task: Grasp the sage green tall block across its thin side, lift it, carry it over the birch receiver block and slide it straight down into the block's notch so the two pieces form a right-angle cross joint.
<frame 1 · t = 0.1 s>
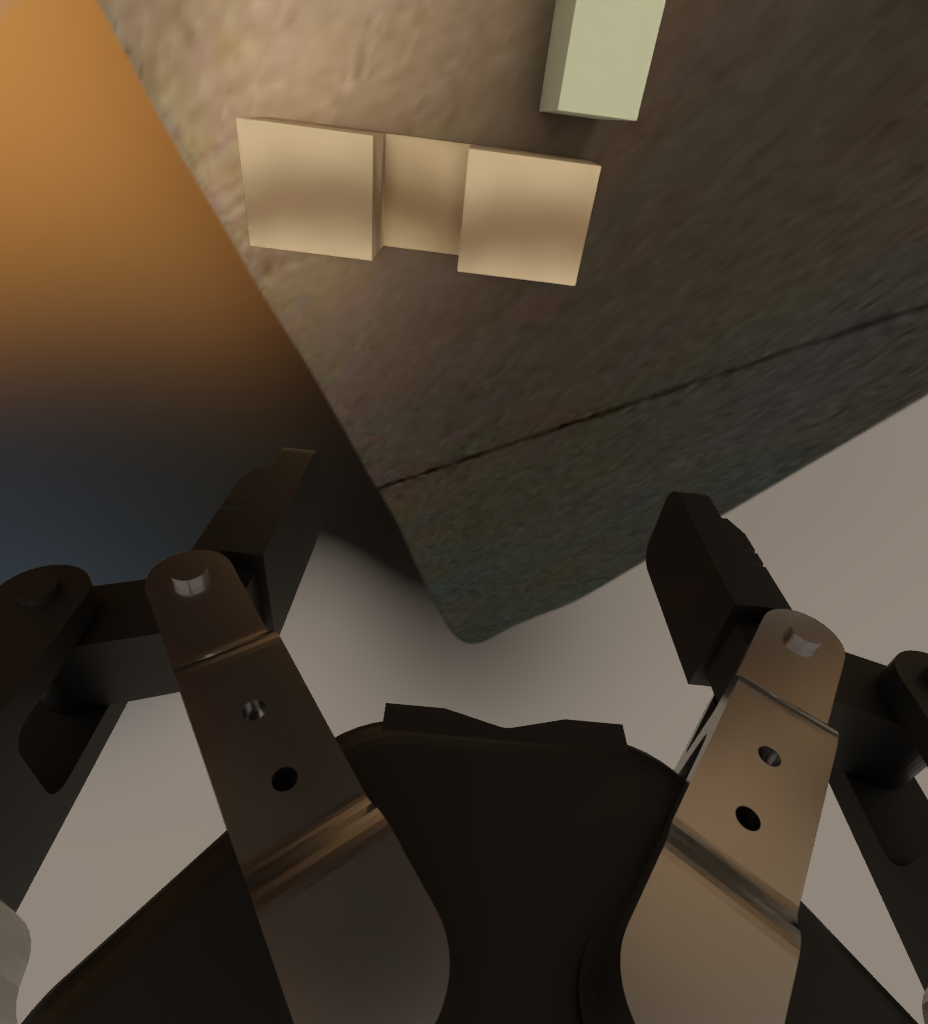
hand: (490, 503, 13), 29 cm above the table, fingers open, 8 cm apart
receiver: (426, 195, 34), on the table
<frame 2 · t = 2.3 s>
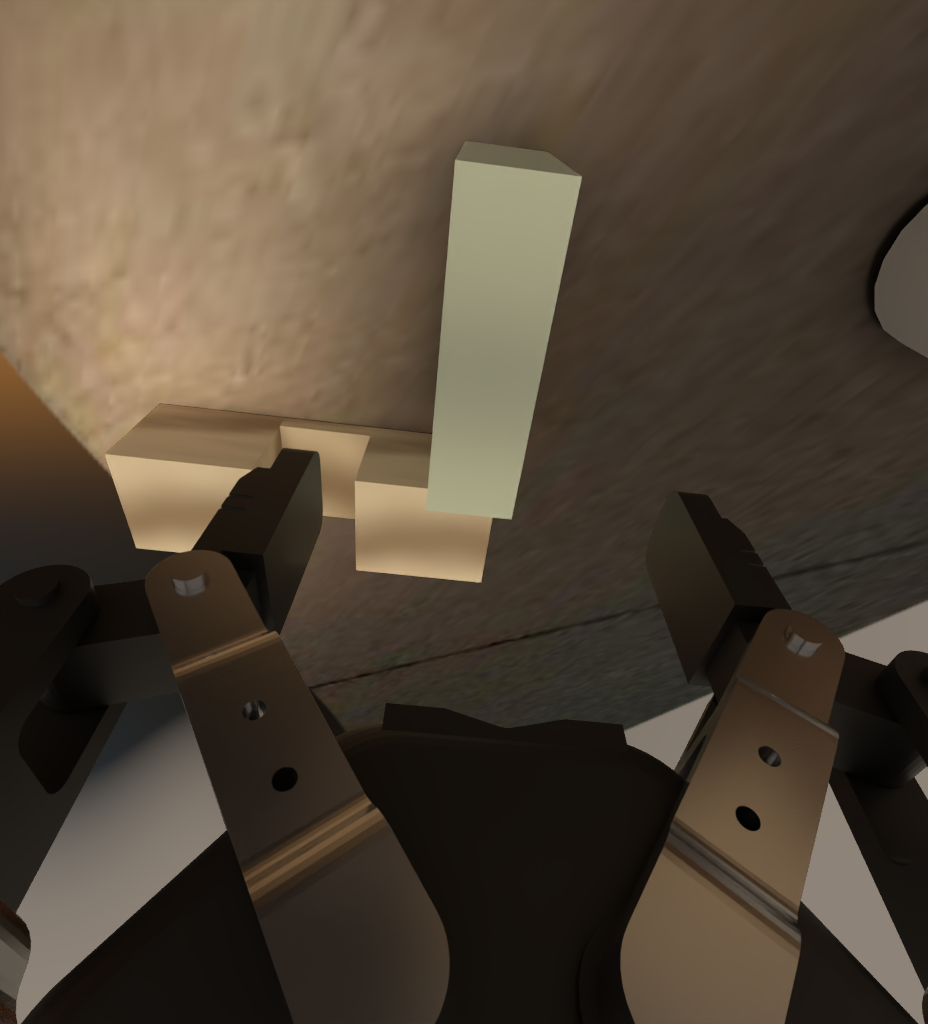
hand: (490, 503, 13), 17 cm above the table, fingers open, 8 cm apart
receiver: (331, 466, 33), on the table
sage green tall block: (487, 293, 26), on the table
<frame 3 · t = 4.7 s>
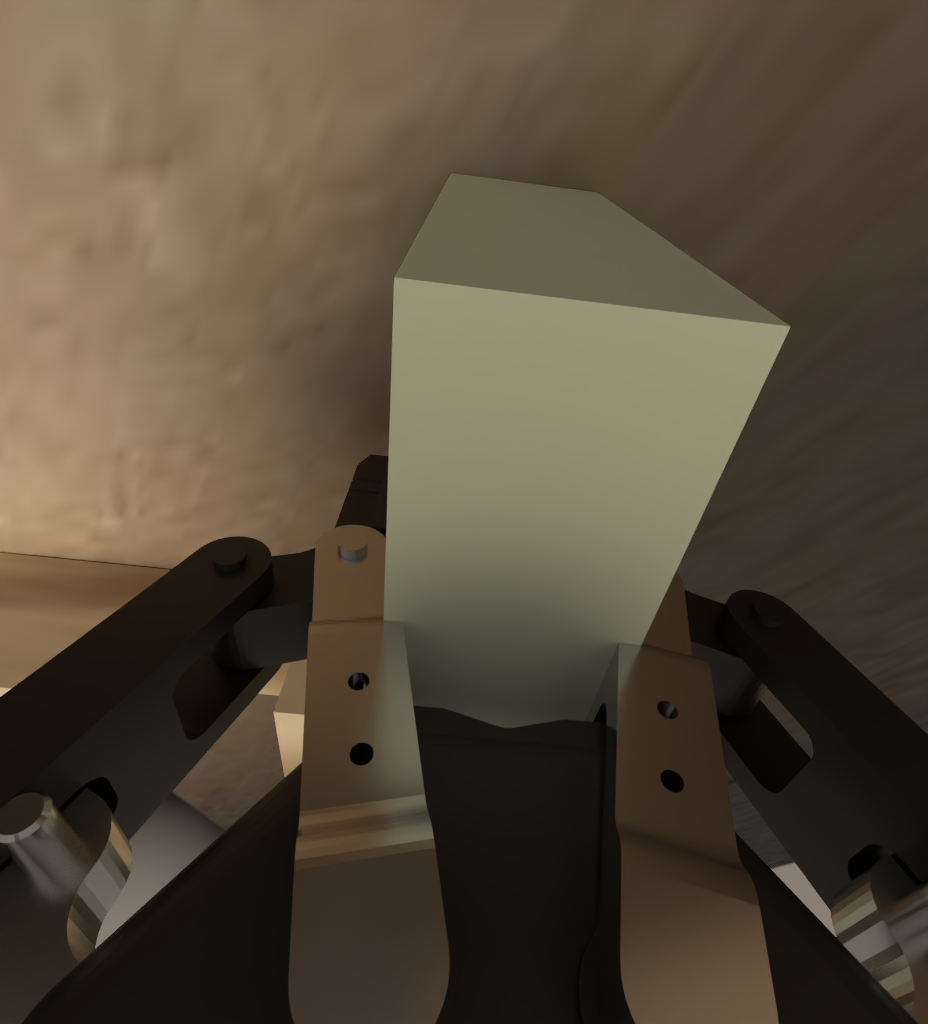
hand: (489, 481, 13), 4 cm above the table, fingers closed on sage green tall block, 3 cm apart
receiver: (261, 630, 22), on the table
sage green tall block: (489, 413, 16), on the table, touching gripper
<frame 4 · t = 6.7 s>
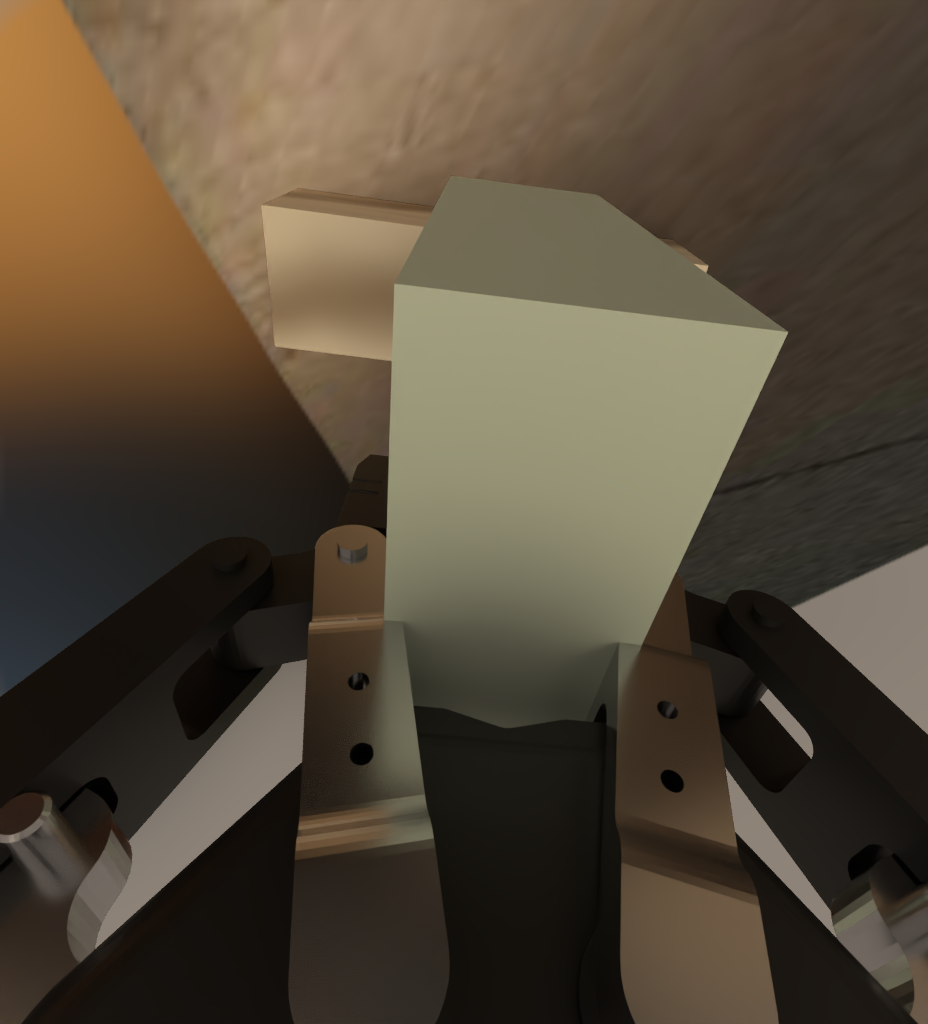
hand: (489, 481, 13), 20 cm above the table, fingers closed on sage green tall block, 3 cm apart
receiver: (480, 277, 29), on the table
sage green tall block: (489, 414, 16), point 16 cm above the table, touching gripper
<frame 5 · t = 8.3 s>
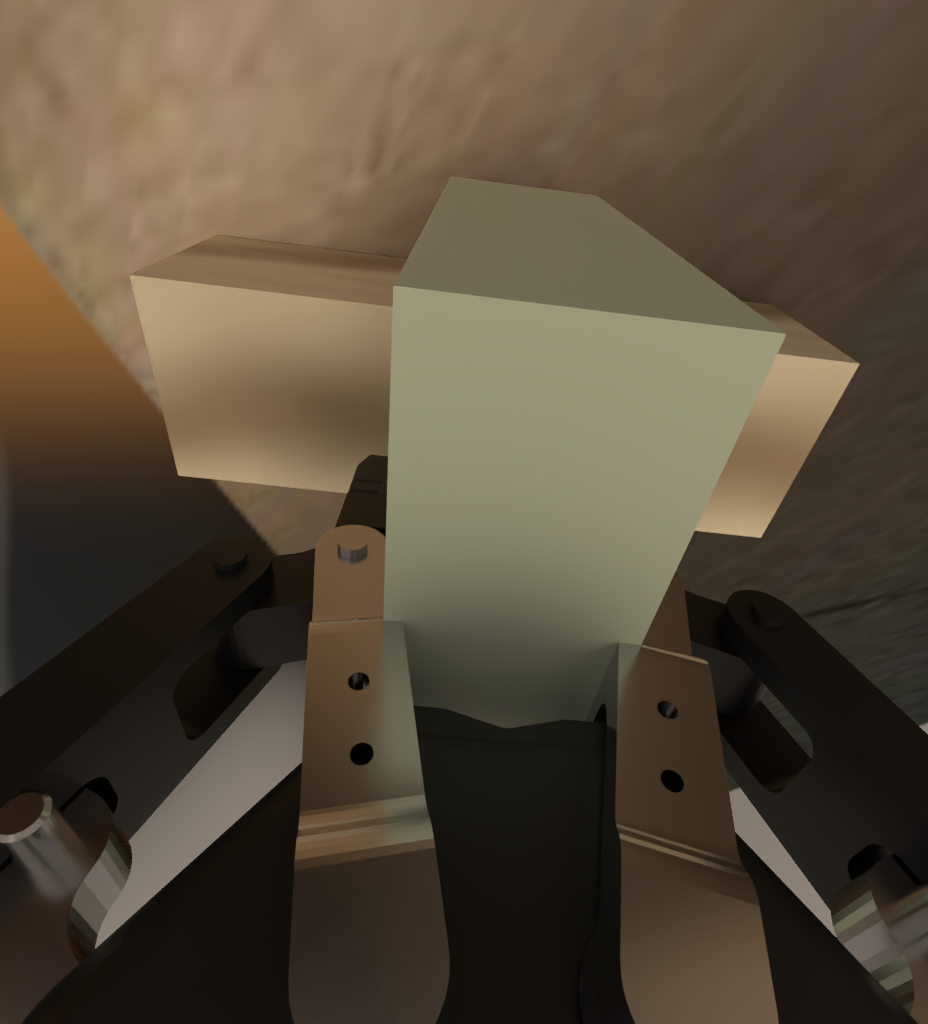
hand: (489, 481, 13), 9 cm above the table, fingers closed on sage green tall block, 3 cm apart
receiver: (487, 355, 20), on the table
sage green tall block: (489, 415, 16), point 5 cm above the table, touching gripper
when the fingers open (7 cm above the table, at t = 9.2 s): sage green tall block drops 2 cm, resting on receiver.
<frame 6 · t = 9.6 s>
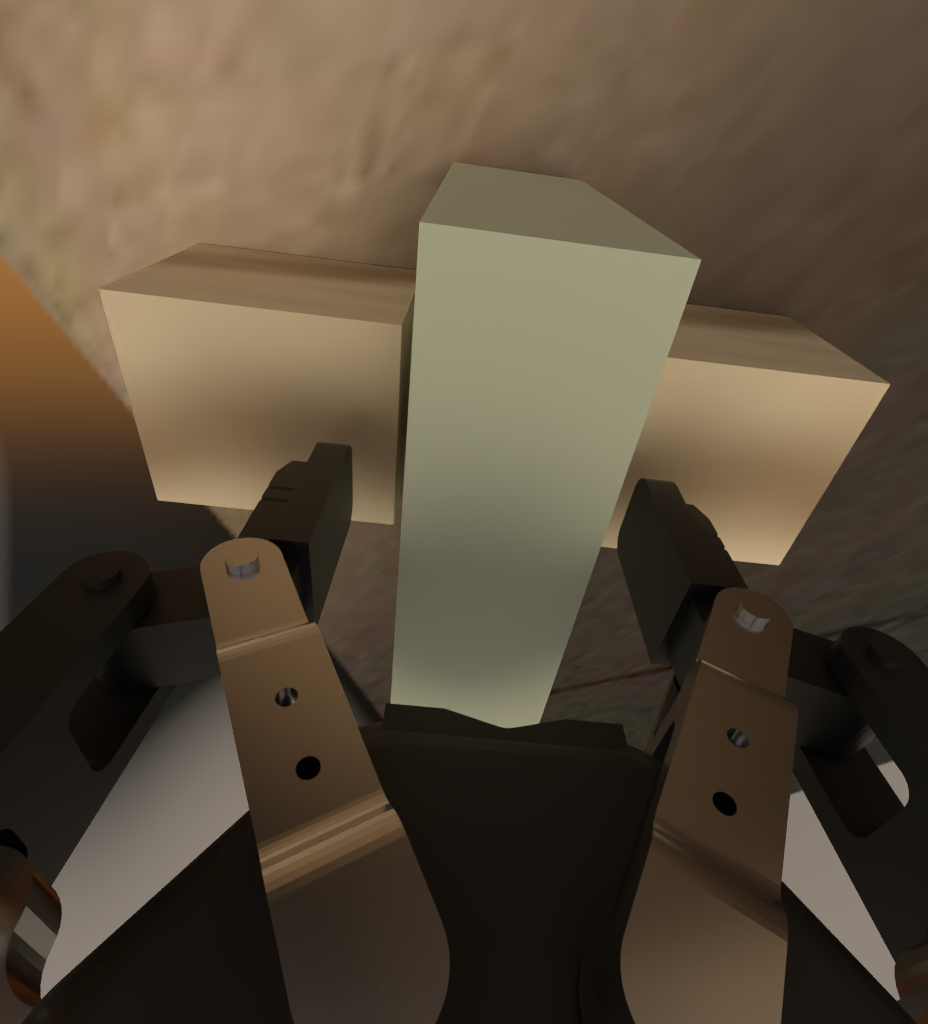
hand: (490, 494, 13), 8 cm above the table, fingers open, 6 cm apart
receiver: (488, 370, 19), on the table
sage green tall block: (486, 379, 18), point 1 cm above the table, touching receiver
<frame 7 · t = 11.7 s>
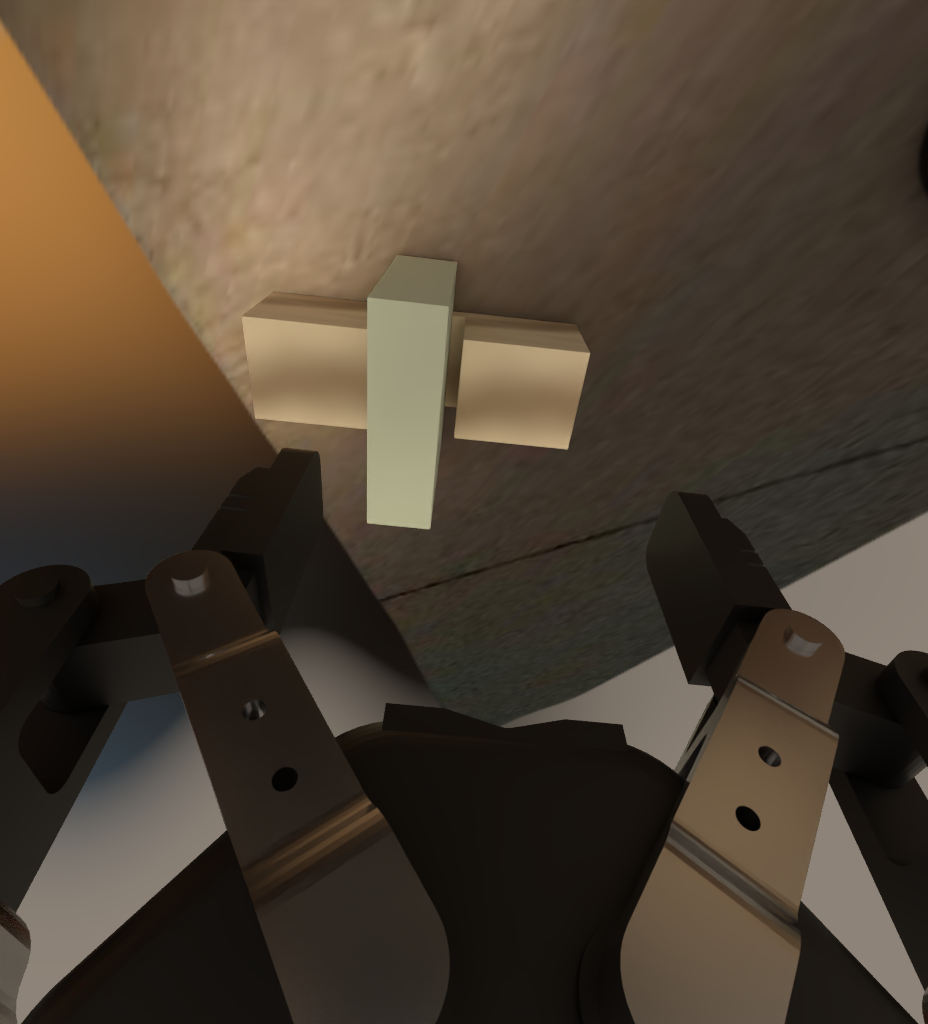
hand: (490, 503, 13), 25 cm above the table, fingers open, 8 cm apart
receiver: (423, 355, 36), on the table
sage green tall block: (421, 359, 35), point 1 cm above the table, touching receiver
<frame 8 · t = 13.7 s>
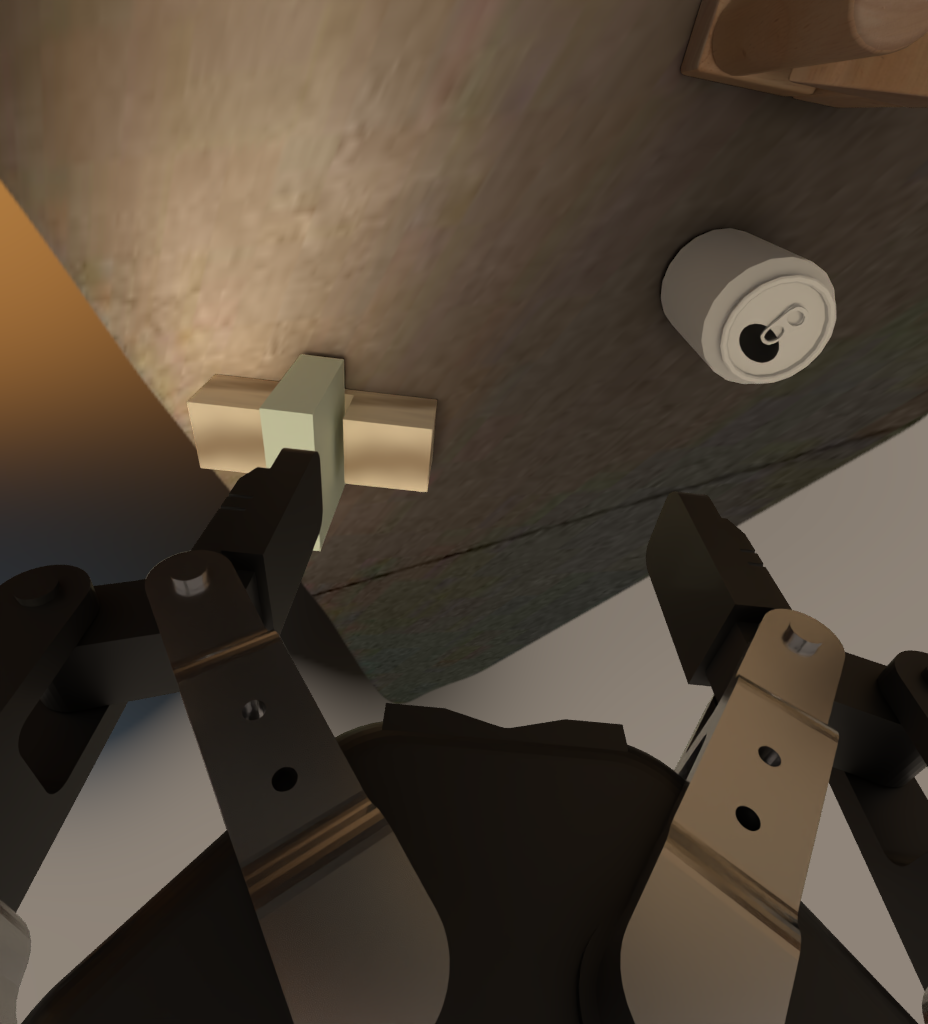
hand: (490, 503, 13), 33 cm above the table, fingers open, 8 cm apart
receiver: (328, 418, 48), on the table
sage green tall block: (325, 422, 47), point 1 cm above the table, touching receiver
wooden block: (772, 54, 33), on the table
can: (708, 281, 41), on the table
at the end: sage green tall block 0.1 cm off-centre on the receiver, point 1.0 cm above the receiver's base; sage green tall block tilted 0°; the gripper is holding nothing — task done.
